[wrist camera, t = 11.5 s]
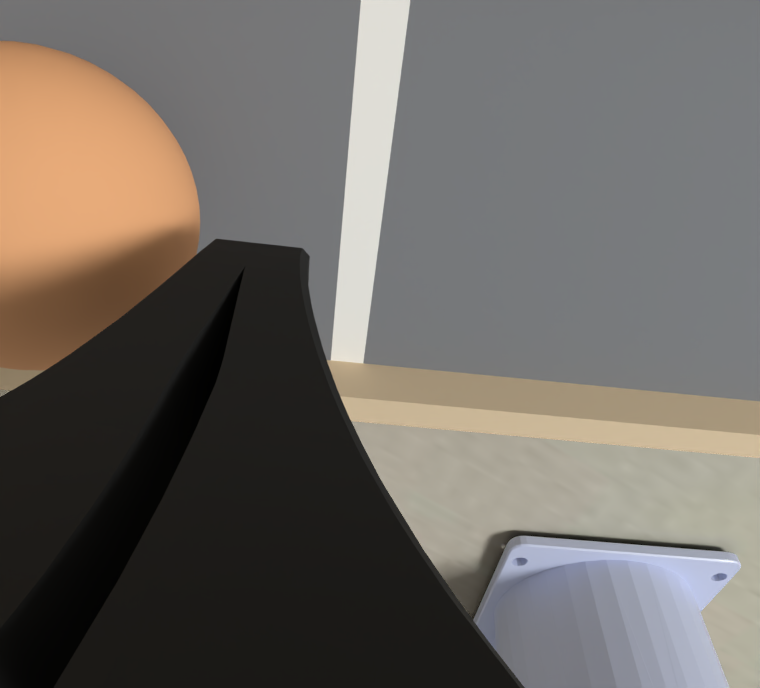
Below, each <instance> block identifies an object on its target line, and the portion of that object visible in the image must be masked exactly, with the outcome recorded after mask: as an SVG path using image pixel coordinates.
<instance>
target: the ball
mask: <svg viewBox="0 0 760 688" xmlns="http://www.w3.org/2000/svg"><path fill="white" fill-rule="evenodd" d="M199 235H200V209H199V201H198V195H197V189H196V185H195V182H194V178H193V175H192V171H191V169H190V166H189V164H188V162H187V159H186V157H185V155H184V153H183V151H182V149H181V147H180V145H179V143H178V142H177V140H176V138H175V137H174V136H173V134H172V133H171V131H170V130H169V128H168V127H167V125H166V124H165V123H164V121H163V120H162V119H161V117H160V116H159V115H158V114H157V113H156V112H155V111H154V109H153V108H152V107H151V106H150V105H149V104H148V103H147V102H146V101H145V100H144V99H143V98H142V97H141V96H139V95H138V94H137V93H136V92H135V91H134V90H133V89H131V88H130V87H128V86H127V85H126V84H124V83H123V82H122V81H120V80H119V79H117V78H116V77H115V76H113V75H112V74H110V73H108V72H107V71H105V70H103V69H101V68H100V67H98V66H96V65H94V64H92V63H91V62H88V61H86V60H84V59H81V58H79V57H76V56H74V55H72V54H69V53H66V52H62V51H59V50H55V49H52V48H48V47H44V46H41V45H37V44H30V43H23V42H16V41H0V367H1V368H8V369H16V370H46V369H48V368H49V367H51V366H53V365H54V364H56V363H57V362H59V361H60V360H62V359H63V358H65V357H66V356H68V355H69V354H71V353H72V352H74V351H75V350H76V349H78V348H79V347H80V346H82V345H83V344H85V343H86V342H87V341H89V340H90V339H92V338H93V337H94V336H96V335H97V334H98V333H100V332H101V331H103V330H104V329H105V328H107V327H108V326H110V325H111V324H112V323H114V322H115V321H116V320H118V319H119V318H120V317H122V316H123V315H124V314H125V313H127V312H128V311H129V310H130V309H132V308H133V307H134V306H135V305H137V304H138V303H139V302H140V301H142V300H143V299H144V298H145V297H147V296H148V295H149V294H150V293H152V292H153V291H154V290H155V289H157V288H158V287H159V286H160V285H161V284H162V283H164V282H165V281H166V280H167V279H168V278H170V277H171V276H172V275H173V274H174V273H175V272H177V271H178V270H179V269H180V268H181V267H182V266H184V265H185V264H186V263H187V262H188V261H189V260H191V259H192V258H193V257H194V256H195V255H196V254H197V249H198V243H199Z"/></svg>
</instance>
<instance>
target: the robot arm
mask: <svg viewBox="0 0 760 688" xmlns="http://www.w3.org/2000/svg"><path fill="white" fill-rule="evenodd" d="M309 261H310V256H309V255H308V254H307V253H306V251H305V250H304V249H303V248H298V247H289V246H280V245H270V244H261V243H252V242H243V241H234V240H225V239H215V240H214V241H212V242H211V243H210V244H209V245H207V246H206V247H205V248H204V249H202V250H201V251H200V252H199V253H198V254H196V255H195V256H194V257H193V258H192V259H191V260H189V261H188V262H187V263H186V264H185V265H184V266H182V267H181V268H180V269H179V270H178V271H177V272H175V273H174V274H173V275H172V276H171V277H170V278H168V279H167V280H166V281H165V282H164V283H162V284H161V285H160V286H159V287H158V288H157V289H155V290H154V291H153V292H152V293H150V294H149V295H148V296H147V297H145V298H144V299H143V300H142V301H140V302H139V303H138V304H137V305H135V306H134V307H133V308H132V309H130V310H129V311H128V312H127V313H125V314H124V315H123V316H122V317H120V318H119V319H118V320H116V321H115V322H114V323H112V324H111V325H110V326H108V327H107V328H105V329H104V330H103V331H101V332H100V333H98V334H97V335H96V336H94V337H93V338H92V339H90V340H89V341H87V342H86V343H85V344H83V345H82V346H80V347H79V348H78V349H76V350H75V351H74V352H72V353H71V354H69V355H68V356H66V357H65V358H63V359H62V360H60V361H59V362H57V363H56V364H54V365H53V366H51V367H49V368H48V369H46V370H45V371H43V372H42V373H40V374H38V375H37V376H35V377H34V378H32V379H30V380H29V381H27V382H25V383H24V384H22V385H20V386H18V387H17V388H15V389H13V390H12V391H10V392H8V393H7V394H5V395H3V396H2V397H0V688H729V685H728V683H727V680H726V677H725V675H724V672H723V670H722V667H721V664H720V662H719V659H718V657H717V654H716V651H715V649H714V646H713V644H712V641H711V638H710V636H709V633H708V631H707V628H706V625H705V623H704V620H703V618H702V615H701V611H702V610H703V609H704V607H705V606H706V605H707V604H708V603H709V602H710V601H711V600H712V599H713V598H714V597H715V596H716V595H717V593H718V592H719V591H720V590H721V589H722V588H723V587H724V586H725V585H726V584H727V583H728V582H729V581H730V579H731V578H732V577H733V576H734V575H735V574H736V573H737V572H738V571H739V569H740V568H741V564H740V562H739V560H738V557H737V555H735V554H734V553H730V552H723V551H711V550H698V549H686V548H673V547H661V546H648V545H636V544H624V543H611V542H599V541H586V540H574V539H561V538H549V537H536V536H517V537H514V538H512V539H511V540H510V541H509V542H508V543H507V545H506V547H505V550H504V552H503V554H502V556H501V558H500V561H499V563H498V565H497V567H496V570H495V572H494V574H493V576H492V579H491V581H490V583H489V585H488V588H487V590H486V592H485V594H484V597H483V599H482V601H481V603H480V606H479V608H478V610H477V612H476V615H475V617H474V619H473V620H472V618H471V617H470V616H469V614H468V613H467V612H466V610H465V609H464V608H463V606H462V605H461V603H460V602H459V601H458V599H457V598H456V597H455V595H454V594H453V592H452V591H451V589H450V588H449V586H448V585H447V583H446V582H445V581H444V579H443V578H442V576H441V575H440V573H439V572H438V570H437V569H436V568H435V566H434V565H433V563H432V562H431V560H430V559H429V557H428V556H427V554H426V553H425V552H424V550H423V549H422V547H421V545H420V544H419V542H418V540H417V539H416V537H415V535H414V534H413V532H412V531H411V529H410V527H409V526H408V524H407V522H406V521H405V519H404V517H403V516H402V514H401V513H400V511H399V509H398V508H397V506H396V504H395V503H394V501H393V499H392V498H391V496H390V495H389V493H388V491H387V490H386V488H385V486H384V485H383V483H382V481H381V479H380V478H379V476H378V474H377V472H376V470H375V468H374V466H373V464H372V462H371V461H370V459H369V457H368V455H367V453H366V451H365V449H364V447H363V445H362V443H361V441H360V439H359V437H358V435H357V433H356V431H355V428H354V426H353V424H352V422H351V420H350V418H349V416H348V413H347V411H346V409H345V406H344V404H343V402H342V399H341V397H340V394H339V392H338V390H337V387H336V384H335V381H334V379H333V376H332V373H331V371H330V368H329V365H328V362H327V359H326V356H325V353H324V350H323V347H322V344H321V340H320V336H319V333H318V329H317V325H316V322H315V318H314V314H313V309H312V305H311V299H310V293H309V286H308V282H309Z"/></svg>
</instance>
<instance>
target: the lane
mask: <svg viewBox="0 0 760 688" xmlns="http://www.w3.org/2000/svg"><path fill="white" fill-rule="evenodd" d="M0 41H16V42H23V43H30V44H37V45H41V46H44V47H48V48H52V49H55V50H59V51H62V52H66V53H69V54H72V55H74V56H76V57H79V58H81V59H84V60H86V61H88V62H91V63H92V64H94V65H96V66H98V67H100V68H101V69H103V70H105V71H107V72H108V73H110V74H112V75H113V76H115V77H116V78H117V79H119V80H120V81H122V82H123V83H124V84H126V85H127V86H128V87H130V88H131V89H133V90H134V91H135V92H136V93H137V94H138V95H139V96H141V97H142V98H143V99H144V100H145V101H146V102H147V103H148V104H149V105H150V106H151V107H152V108H153V109H154V111H155V112H156V113H157V114H158V115H159V116H160V117H161V119H162V120H163V121H164V123H165V124H166V125H167V127H168V128H169V130H170V131H171V133H172V134H173V136H174V137H175V138H176V140H177V142H178V143H179V145H180V147H181V149H182V151H183V153H184V155H185V157H186V159H187V162H188V164H189V166H190V169H191V171H192V175H193V178H194V182H195V185H196V189H197V195H198V201H199V209H200V235H199V243H198V249H197V254H198V253H199V252H200V251H201V250H202V249H204V248H205V247H206V246H207V245H209V244H210V243H211V242H212V241H214V240H215V239H225V240H234V241H243V242H252V243H261V244H270V245H280V246H289V247H298V248H303V249H304V250H305V251H306V253H307V254H308V255H309V256H310V261H309V282H308V286H309V293H310V299H311V305H312V309H313V314H314V318H315V322H316V325H317V329H318V333H319V336H320V340H321V344H322V347H323V350H324V353H325V356H326V359H327V362H328V365H329V368H330V371H331V373H332V376H333V379H334V381H335V384H336V387H337V390H338V392H339V394H340V397H341V399H342V402H343V404H344V406H345V409H346V411H347V413H348V416H349V418H350V420H351V421H356V422H367V423H378V424H389V425H400V426H411V427H422V428H433V429H445V430H456V431H467V432H478V433H489V434H500V435H511V436H522V437H533V438H544V439H555V440H567V441H578V442H589V443H600V444H611V445H622V446H633V447H644V448H655V449H666V450H678V451H689V452H700V453H711V454H722V455H733V456H744V457H755V458H760V0H0ZM43 371H45V370H16V369H8V368H1V367H0V389H1V390H13V389H15V388H17V387H18V386H20V385H22V384H24V383H25V382H27V381H29V380H30V379H32V378H34V377H35V376H37V375H38V374H40V373H42V372H43Z"/></svg>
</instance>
